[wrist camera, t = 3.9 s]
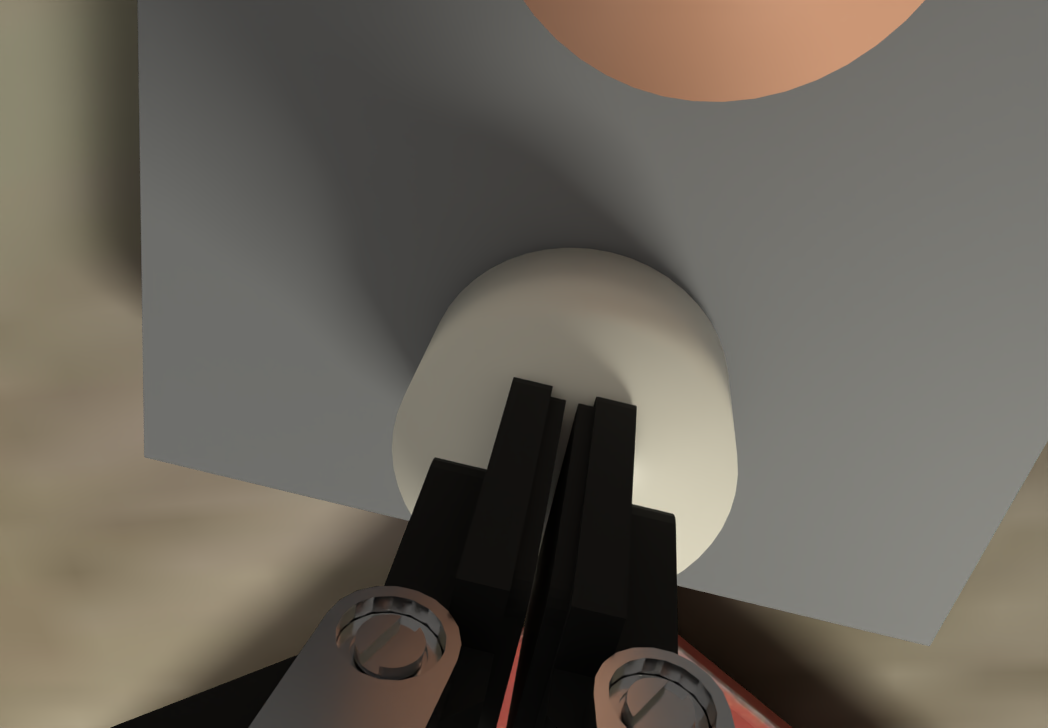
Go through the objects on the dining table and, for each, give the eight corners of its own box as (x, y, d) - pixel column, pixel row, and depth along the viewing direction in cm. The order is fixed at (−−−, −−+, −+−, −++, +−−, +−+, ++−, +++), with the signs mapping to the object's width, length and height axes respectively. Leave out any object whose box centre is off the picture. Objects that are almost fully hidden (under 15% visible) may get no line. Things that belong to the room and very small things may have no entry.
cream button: (451, 215, 13) (416, 277, 11) (769, 289, 13) (786, 364, 11) (410, 471, 16) (374, 559, 14) (681, 537, 16) (682, 634, 14)
